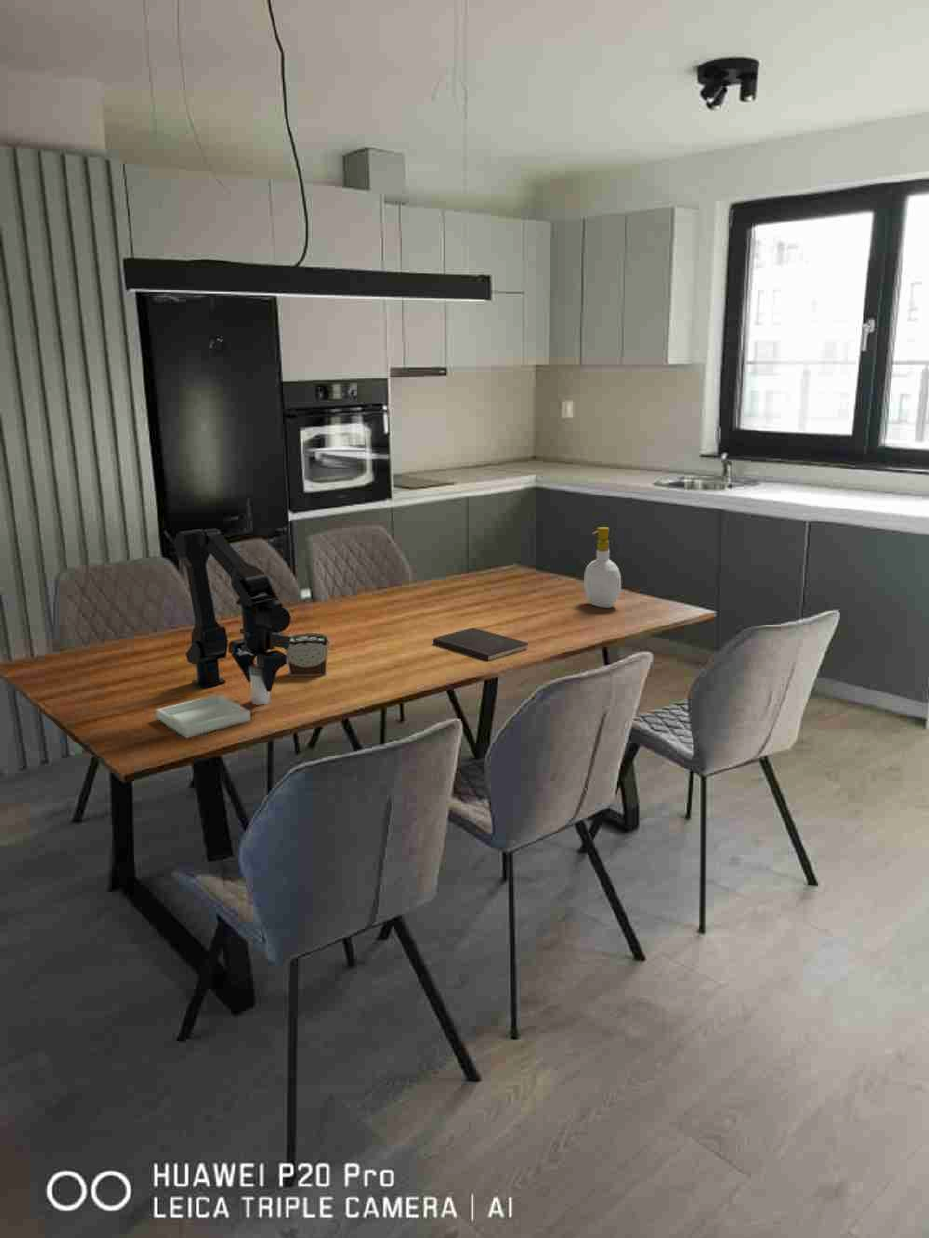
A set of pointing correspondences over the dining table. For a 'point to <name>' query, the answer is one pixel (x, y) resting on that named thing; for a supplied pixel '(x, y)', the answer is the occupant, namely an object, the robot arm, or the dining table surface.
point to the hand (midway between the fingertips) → (259, 686)
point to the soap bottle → (602, 575)
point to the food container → (307, 654)
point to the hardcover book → (480, 643)
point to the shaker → (258, 687)
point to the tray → (203, 715)
